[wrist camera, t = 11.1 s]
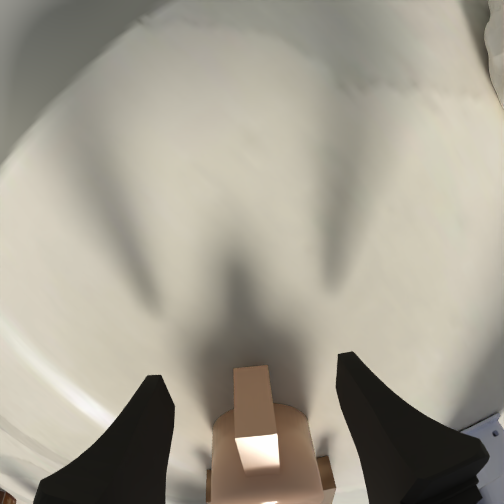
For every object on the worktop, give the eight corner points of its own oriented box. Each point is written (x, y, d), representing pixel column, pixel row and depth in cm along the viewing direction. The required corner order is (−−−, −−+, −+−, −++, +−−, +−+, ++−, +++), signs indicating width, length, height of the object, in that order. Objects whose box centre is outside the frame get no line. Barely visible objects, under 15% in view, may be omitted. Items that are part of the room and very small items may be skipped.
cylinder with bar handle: (306, 451, 19) (319, 515, 14) (223, 460, 19) (223, 525, 14) (311, 347, 15) (338, 439, 10) (189, 360, 15) (176, 454, 10)
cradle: (328, 455, 20) (336, 487, 17) (323, 487, 22) (329, 513, 20) (206, 469, 20) (205, 502, 17) (224, 499, 22) (224, 525, 20)
